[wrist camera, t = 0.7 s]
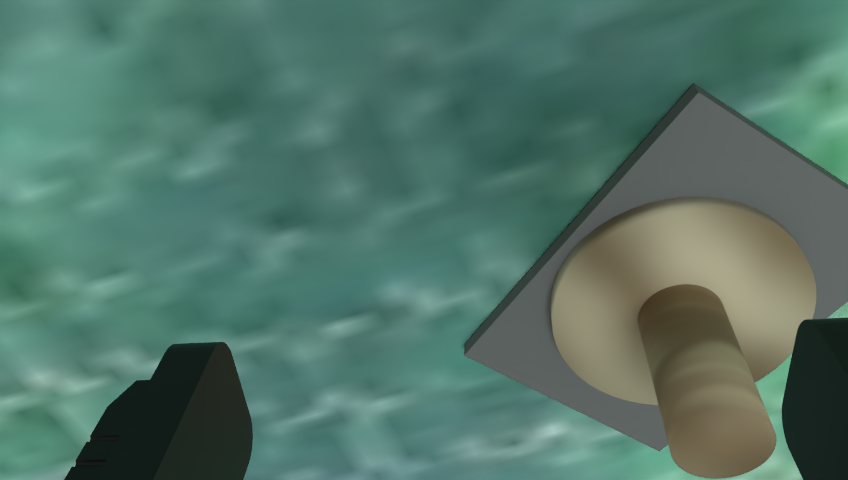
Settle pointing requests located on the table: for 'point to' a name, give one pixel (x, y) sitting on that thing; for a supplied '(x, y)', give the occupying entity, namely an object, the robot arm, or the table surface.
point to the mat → (658, 180)
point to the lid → (687, 321)
